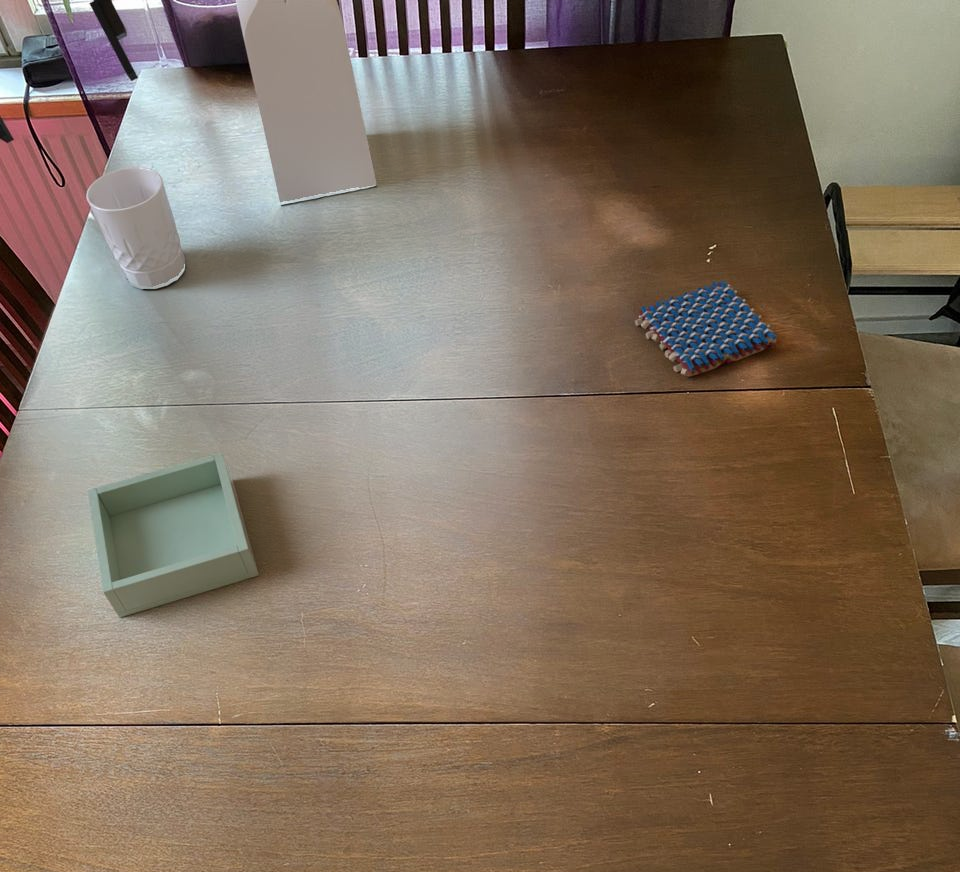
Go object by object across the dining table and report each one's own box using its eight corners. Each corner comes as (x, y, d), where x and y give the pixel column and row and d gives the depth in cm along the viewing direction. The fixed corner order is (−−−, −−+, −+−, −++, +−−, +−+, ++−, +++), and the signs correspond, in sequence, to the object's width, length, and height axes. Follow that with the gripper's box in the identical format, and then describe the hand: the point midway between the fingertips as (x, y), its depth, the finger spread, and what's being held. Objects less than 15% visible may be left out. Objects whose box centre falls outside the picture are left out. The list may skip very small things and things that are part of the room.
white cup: (125, 255, 114) (90, 171, 105) (193, 246, 114) (164, 162, 105) (118, 298, 109) (81, 214, 101) (190, 289, 109) (159, 204, 101)
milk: (377, 187, 118) (335, -66, 97) (280, 206, 117) (217, -45, 96) (360, 135, 125) (318, -112, 103) (269, 152, 124) (207, -92, 102)
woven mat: (721, 290, 103) (724, 273, 101) (779, 351, 97) (783, 334, 95) (631, 321, 101) (632, 305, 99) (684, 385, 95) (686, 368, 94)
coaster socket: (119, 618, 84) (102, 592, 81) (102, 517, 91) (87, 490, 88) (259, 575, 86) (248, 548, 83) (233, 479, 92) (222, 451, 89)
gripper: (69, -177, 93) (188, 59, 101) (-171, -58, 93) (-34, 170, 100) (51, -217, 86) (180, 40, 94) (-209, -89, 86) (-59, 159, 93)
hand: (70, 108), depth 97 cm, fingers open, 13 cm apart
